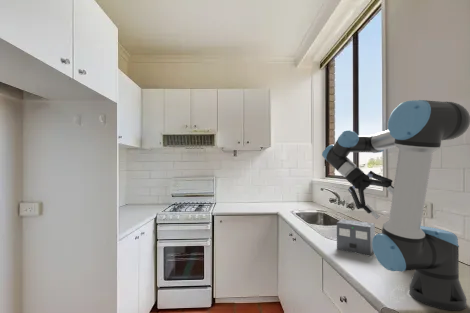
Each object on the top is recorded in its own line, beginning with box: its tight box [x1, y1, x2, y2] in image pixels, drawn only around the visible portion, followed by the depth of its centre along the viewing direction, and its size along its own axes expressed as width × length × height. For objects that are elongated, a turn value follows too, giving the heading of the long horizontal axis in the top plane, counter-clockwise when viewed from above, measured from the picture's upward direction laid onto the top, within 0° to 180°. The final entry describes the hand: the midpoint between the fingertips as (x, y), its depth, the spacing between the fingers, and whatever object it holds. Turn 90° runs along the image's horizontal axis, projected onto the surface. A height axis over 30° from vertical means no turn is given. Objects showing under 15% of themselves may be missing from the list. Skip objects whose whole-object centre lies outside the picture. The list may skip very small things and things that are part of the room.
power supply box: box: [336, 218, 376, 257], centre depth 137 cm, size 11×16×14 cm, turn 52°
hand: (389, 208), depth 111 cm, fingers open, 13 cm apart
